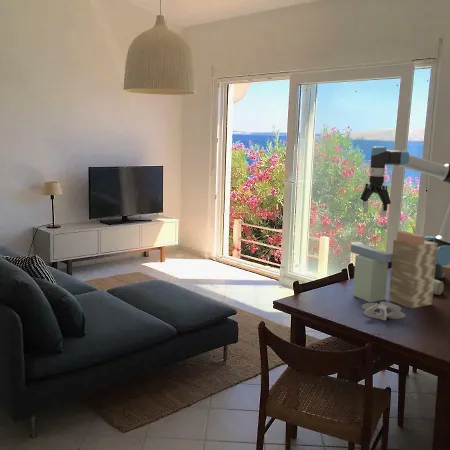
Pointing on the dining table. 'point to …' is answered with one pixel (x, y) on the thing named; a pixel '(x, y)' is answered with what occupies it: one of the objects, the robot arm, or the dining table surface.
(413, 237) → the terracotta bar
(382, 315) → the sculpture
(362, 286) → the pale green pillar
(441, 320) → the dining table surface
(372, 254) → the slate bar
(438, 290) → the ceramic mug
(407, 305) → the birch stand
